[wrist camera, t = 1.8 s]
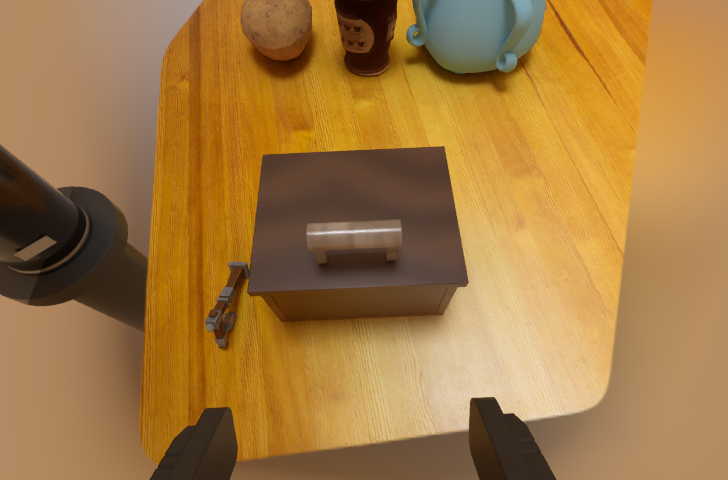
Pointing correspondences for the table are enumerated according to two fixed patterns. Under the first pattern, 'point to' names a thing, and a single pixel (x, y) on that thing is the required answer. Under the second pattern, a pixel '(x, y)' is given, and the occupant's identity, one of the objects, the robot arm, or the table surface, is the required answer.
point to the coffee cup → (366, 33)
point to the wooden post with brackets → (226, 304)
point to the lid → (355, 223)
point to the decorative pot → (477, 32)
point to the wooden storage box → (360, 304)
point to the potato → (277, 26)
